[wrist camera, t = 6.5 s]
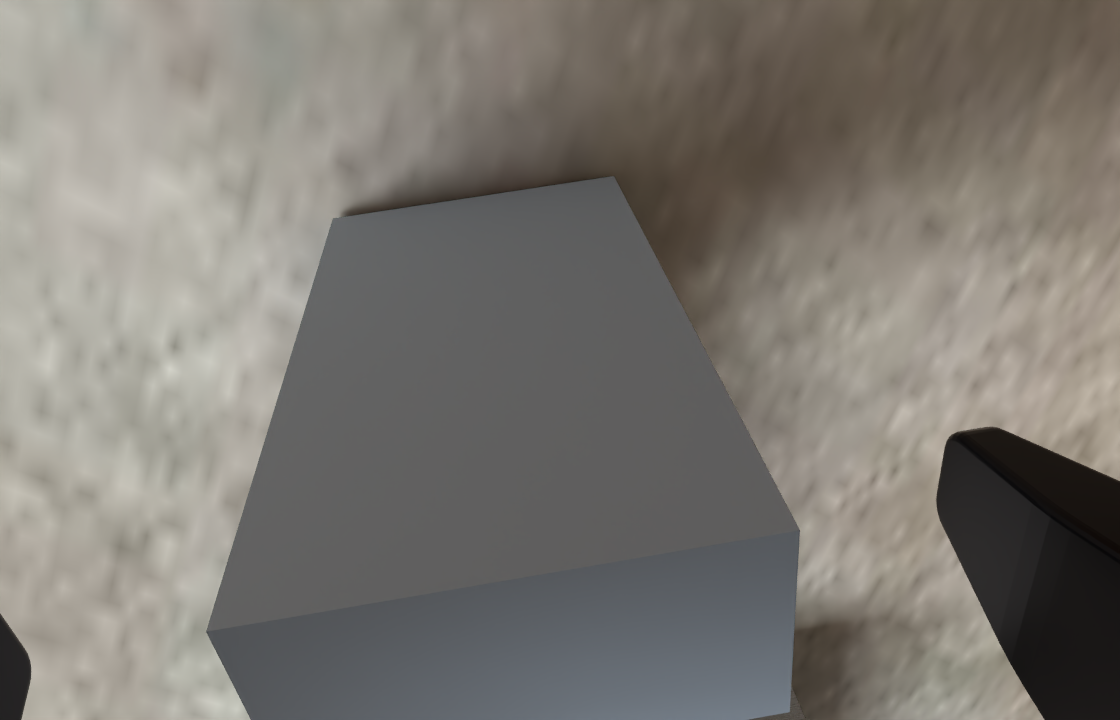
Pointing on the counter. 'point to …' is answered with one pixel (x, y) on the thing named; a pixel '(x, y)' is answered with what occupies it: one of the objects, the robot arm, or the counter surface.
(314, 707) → the handle
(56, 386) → the counter surface
